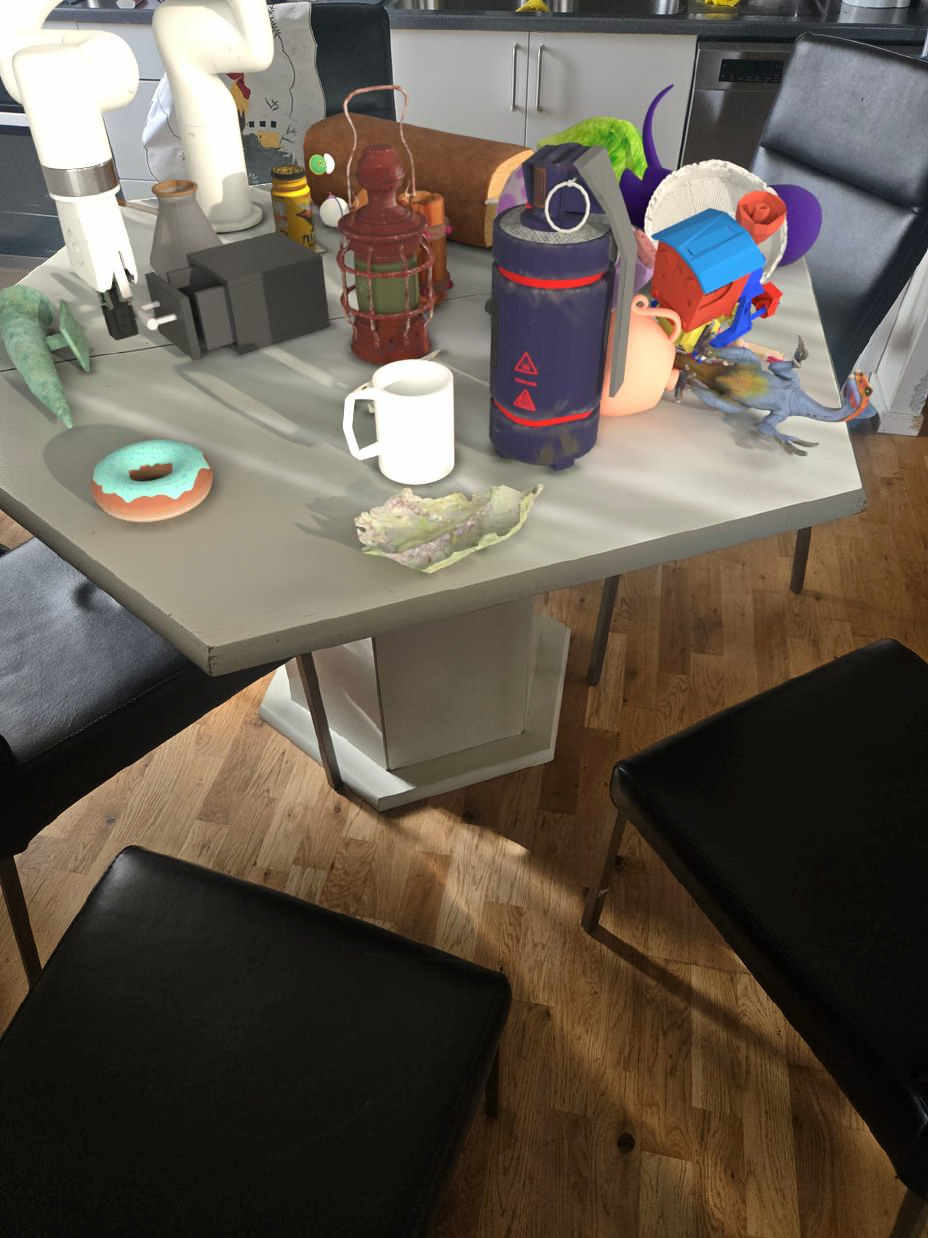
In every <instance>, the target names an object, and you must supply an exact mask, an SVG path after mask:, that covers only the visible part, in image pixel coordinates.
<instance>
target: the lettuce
mask: <svg viewBox="0 0 928 1238" xmlns="http://www.w3.org/2000/svg"><path fill="white" fill-rule="evenodd" d="M569 142H575V143H580V144H582V145H583V146H593V145H599V146H604V147H606V149H607V152H608V155H609V158H610V161H611V164H612V167H613V170H614V173H615V176H616V179H617V182H618V185H619V182H620V179H621V175H622V173H623V171H624V169H625V168H628V169H630V170H631V171H632V172H633V173H634V174H635V175H637V176H638V177H639V178H640V179H641V180H642V178H643V174H644V171H645V169H646V168H647V167H648V166H647V162H646V158H645V155H644V150H643V143H642V134H641V132H640V131H639V130H638V128H637V127H636V126H635V125H634V124H633V123H632V122H630V121H629V120H625V119H619V118H615V117H612V116H601V115H599V116H596V115H595V116H593V117H589V118H587V119H584V120H582V121H579V122H578V123H576V124H573V125H572V126H570V127H568V128H566V129H564V130H562V131H561V132H557V133H554V134H552V135H550V136H546V137H543V138H541V139H540V140H538V141H537V143H536V152H537V151H538V150H539V149H541V148H542V147H543V146H545V145H559V144H564V143H569Z"/></svg>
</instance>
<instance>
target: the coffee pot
mask: <svg viewBox="0 0 928 1238" xmlns="http://www.w3.org/2000/svg"><path fill="white" fill-rule="evenodd" d="M197 189H198V185H197V184H196V183H195V182H193V181H189V179H168V180H164V181H161V182H159V183H155V184H154V185H153V186H152V187H151V193H152V194H153V195H155V197H156V200H157V201H158V203H159V205H158V208H157V207H153V206H149V205H145V204H140V203H135V202H131V201H127V200H125V199H122V198H119V197H116V200H117V203H118V206H119V207H123V208H129V209H133V210H135V211H139V212H143V213H147V214H150V215H154V216H156V222H155V227H154V232H153V239H152V244H151V250H150V255H149V264H150V267H151V268H152V270H153V272H154V273H155V274H157V275H158V276H159V277H161V278H162V279H164V280H165V281H167V276H166V272H169V271H173V270H177V269H181V268H185V267H189V265H188V260H187V256H186V254H189V253H193V252H196V251H200V250H204V249H208V248H212V247H216V246H220V245H224V243H223V241H222V240H221V238H220V237H219V235H218V234H217V233H218V232H215V230H214V229H213V227H212V225H211V224H210V222H209V221H208V219H207V217H206V216H205V214H204V213H203V211H202V209H201V208H200V206H199V205H198V203H197V201H196V190H197Z"/></svg>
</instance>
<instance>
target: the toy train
mask: <svg viewBox="0 0 928 1238" xmlns="http://www.w3.org/2000/svg"><path fill="white" fill-rule="evenodd" d="M786 213H787V209H786V204H785V203H784V202H783V201H782V200H781V199H780V197H779V196H777V195H775V194H772V193H770V192H764V191H754V192H751V193H748V194H746V195H744V196H743V197H742V198H741V199H740V201H739V202H738V204H737V210H736V215H735V219H736V220H735V219H733V218H732V217H731V216H730V215H729V214H728V213H727V212H724V211H720V210H716V209H712V208H709V209H707V210H704V211H702V212H700V213H698V214H696V215H694V216H691V217H689V218H687V219H685V220H683V221H681V222H679V223H676V224H674V225H672V226H670V227H668V228H666V229H663V230H661V231H659V232H657V233H655V234H653V235H651V237H652V238H653V239H654V240H657V241H658V247H657V252H656V258H655V264H654V271H653V276H652V277H651V285H650V290H649V294H650V297H651V298H652V299H653V300H651V302H650V308H666V309H670V310H673V311H675V312H676V313H677V314H678V315H679V317H680V320H681V331H680V334H679V336H678V337H677V339H676V340H675V341H674V342H673V344H674V346H675V347H679V346H678V345H680V344H681V346H682V347H683V348H682V349H684V350H685V351H686V352H685V351H684V352H685V354H687V353H693V354H692V357H693V358H694V359H695V356H696V355H697V354H698V351H694V346H695V344H696V342H697V340H698V338H699V336H700V335H701V333H702V332H703V330H704V328H705V326H706V325H707V324H710V323H711V319H715V325H714V327H713V329H712V331H711V332H714V331H718V329H719V327H720V326H721V324H724V323H726V322H727V325H728V326H729V327H728V328H726V329H724V331H723V332H721V333H719V334H718V335H716V337H715V338H714V339H713V340H711V341H710V342H709V343H708V344H709V346H711V347H714V348H722V347H725V346H727V345H728V344H730V343H731V342H733V341H735V340H736V339H738V338H741V337H743V336H744V335H746V334H748V333H749V332H751V331H752V328H753V323H754V322H752V321H754V320H756V319H757V318H761V319H763V320H765V319H767V318H770V317H773V316H775V314H776V312H777V309H778V306H779V305H780V304H781V302H780V300H781V297H783V296H784V293H783V292H782V291H781V290H780V289H779V288H778V287H777V286H776V285H775V284H774V283H773V282H772V281H771V280H770V281H768V282H765V283H762V285H761V283H760V280H761V278H762V276H763V266H765V265H766V263H765V260H766V258H765V257H764V255H763V254H761V252H760V250H759V248H758V247H757V245H758V244H759V243H761V242H764V241H765V240H767V239H768V238H769V237H770V236H771V235H772V234H773V233H774V232H776V231H777V230H778V229H779V228H780V227H781V226H782V224H783V223H784V220H785V217H786ZM752 305H753V306H754V307H755V311H754V308H753V307H752ZM753 311H754V312H753ZM655 318H656V319H657V320H658V324H659V325H660V327H661V328H662V329H663V330H664V331H665V333H666V334H667V335H668V336H670V335H671V333H672V332H673V330H674V327H675V323H674V321H673V320H672V319H669V318H666V317H659V316H655ZM707 359H708V358H707V357H704V356H701V357H700V359H695V360H696V362H697V363H698V364H699V363H700V362H702V361H705V360H707Z"/></svg>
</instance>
